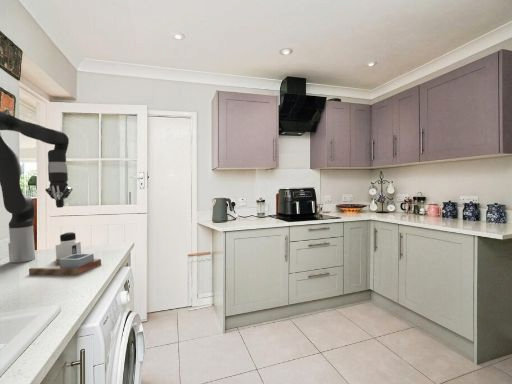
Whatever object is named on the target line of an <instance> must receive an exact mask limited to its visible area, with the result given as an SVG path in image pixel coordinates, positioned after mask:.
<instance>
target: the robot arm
mask: <svg viewBox="0 0 512 384" xmlns="http://www.w3.org/2000/svg"><path fill="white" fill-rule="evenodd" d="M0 131H11V132H17V133H20V134H21V135H23V136H25V137H27V138H30V139H34V140H37V141H40V142H42V143H45V144H47V145H53V146H54V147H53V149H51V150H48V152H47V160H48V161H47V163H48V164H47V173H48V175H47V176H48V177H47V178H48V181H49V182H50V184H49V187H47V188H45V189H44V191H45V192H46V193H47V194H48V195H49V196H50V198H51V199H54V200H55V206H56V208H60V209H61V208H63V207H64V200H65V199H67V198H68V197H69V196H70V194H71V193H72V191H73V190H74V189H73V188H72V187H69V184H68V181H69V177H68V175H69V174H68V165H67V151H68V148H69V143H70V138H69V136H68V134H67V133H66V132H65V131H61V130H56V129H54V128H50V127H49V128H48V127H45V126H43V125H40V124H36V123H32V122H29V121H25V120H23V119H20V118H17V117H15V116H14V115H12V114H10V113H8V112H4V111H0ZM21 167H22V166H21V163H20V160H19V157H18V155H17V153H16V152H15V151H14V149H13V148H12V147H11V146H10V145H9V144H8V142H6V141H5V140H4V138H3V136H2V134H1V132H0V187H1V188H0V189H1V193H2V200H3V201H2V202H3V206H4V208H5V210H6V212H8V213H10V214H11V219H10V221H9V222H8V232H9V233H8V234H9V242H8V257H9V263H10V262H11V263H14V264H15V263H17V264H19V263H25V262H29V261H33V260H35V259H36V252H35V251H36V250H35V249H36V248H35V236H34V235H35V234H34V220H35V203H34V200H33V199H32V197H31V196H29V195H27V194H24V193H23V191H22V188H21V187H22V186H21V175H22V174H21V172H22V170H21V169H22V168H21Z"/></svg>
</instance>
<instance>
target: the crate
mask: <svg viewBox="0 0 512 384" xmlns="http://www.w3.org/2000/svg"><path fill="white" fill-rule="evenodd" d="M94 255H95V254H94V253H81V254H73V255H70V256H67V257H65V258H62V259H59V261H60V265H59V268H78V267H80V266H82V265H85V264H87V263H89V262H92V261H94V259H95V257H94Z"/></svg>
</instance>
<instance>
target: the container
mask: <svg viewBox="0 0 512 384" xmlns="http://www.w3.org/2000/svg"><path fill="white" fill-rule="evenodd" d="M76 238H77V237H76V232H72V231H71V232H70V231H69V232H64V233H61V234H60V235H59V241H60V243H58V244H55V260H56V259H62V258H65V257H67V256H70V255H73V254H82V248H81V247H82V246H81V241H76V240H77V239H76Z"/></svg>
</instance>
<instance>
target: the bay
mask: <svg viewBox="0 0 512 384" xmlns="http://www.w3.org/2000/svg"><path fill="white" fill-rule="evenodd" d="M55 264H58V265H59V266H60V261H59V259H56V258H55ZM101 265H102V259H101V258H94V261H92V262H89V263H87V264H85V265H82V266H80V267H78V268H60V267H59V268H58V267H29V268H28V276H29V275H31V276H32V275H33V276H35V275H36V276H78V275H81V274H83V273H85V272H87V271H89V270H92V269H93V268H96V267H98V266H101Z"/></svg>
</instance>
